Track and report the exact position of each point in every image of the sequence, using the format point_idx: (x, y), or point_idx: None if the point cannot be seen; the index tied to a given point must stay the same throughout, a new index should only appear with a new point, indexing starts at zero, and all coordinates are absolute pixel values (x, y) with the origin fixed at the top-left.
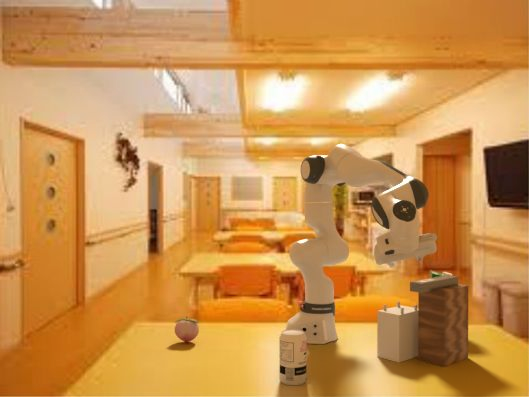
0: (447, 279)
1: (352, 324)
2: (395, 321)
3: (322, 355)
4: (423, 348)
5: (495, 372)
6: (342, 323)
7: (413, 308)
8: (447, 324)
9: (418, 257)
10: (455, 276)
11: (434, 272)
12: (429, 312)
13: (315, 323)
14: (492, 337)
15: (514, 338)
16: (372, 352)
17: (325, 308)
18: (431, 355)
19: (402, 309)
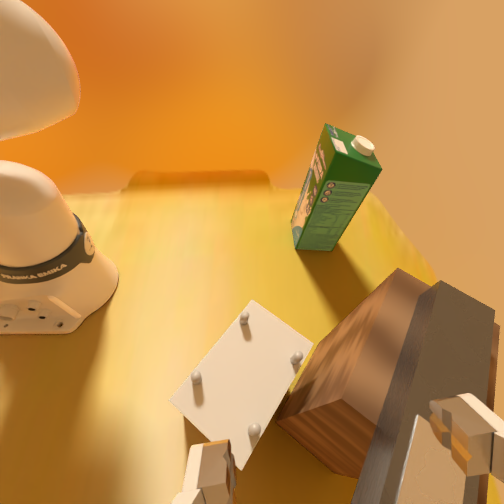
0: (484, 382)
1: (165, 199)
2: None
3: (37, 436)
4: (294, 430)
5: None
6: (148, 195)
7: (286, 337)
8: None
9: (479, 459)
10: (485, 309)
11: (336, 138)
12: (348, 442)
13: (31, 301)
14: (384, 245)
15: (414, 247)
16: (176, 378)
17: (43, 273)
18: (310, 447)
19: (255, 435)
